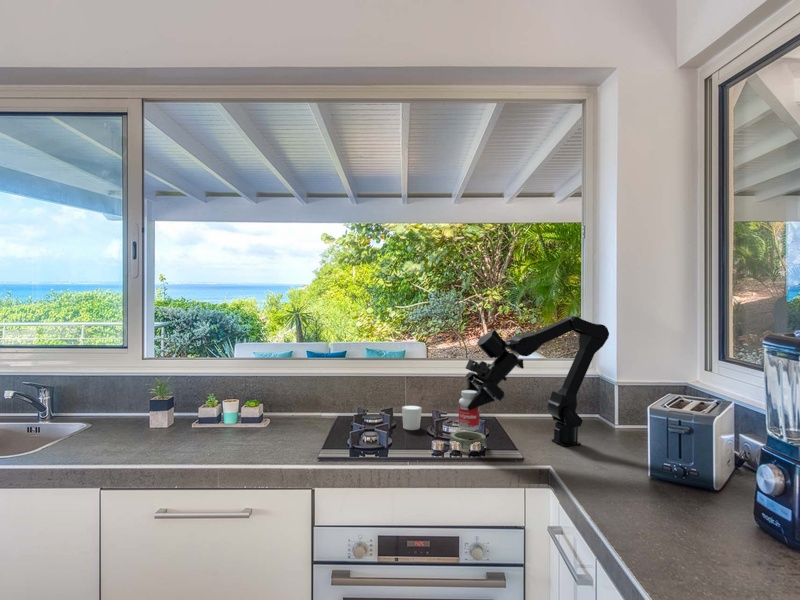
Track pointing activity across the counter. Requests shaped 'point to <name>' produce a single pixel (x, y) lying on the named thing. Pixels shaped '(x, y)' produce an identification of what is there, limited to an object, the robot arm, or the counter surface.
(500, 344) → the robot arm
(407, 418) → the white cup
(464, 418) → the pill bottle
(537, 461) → the counter surface
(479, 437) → the ring holder
